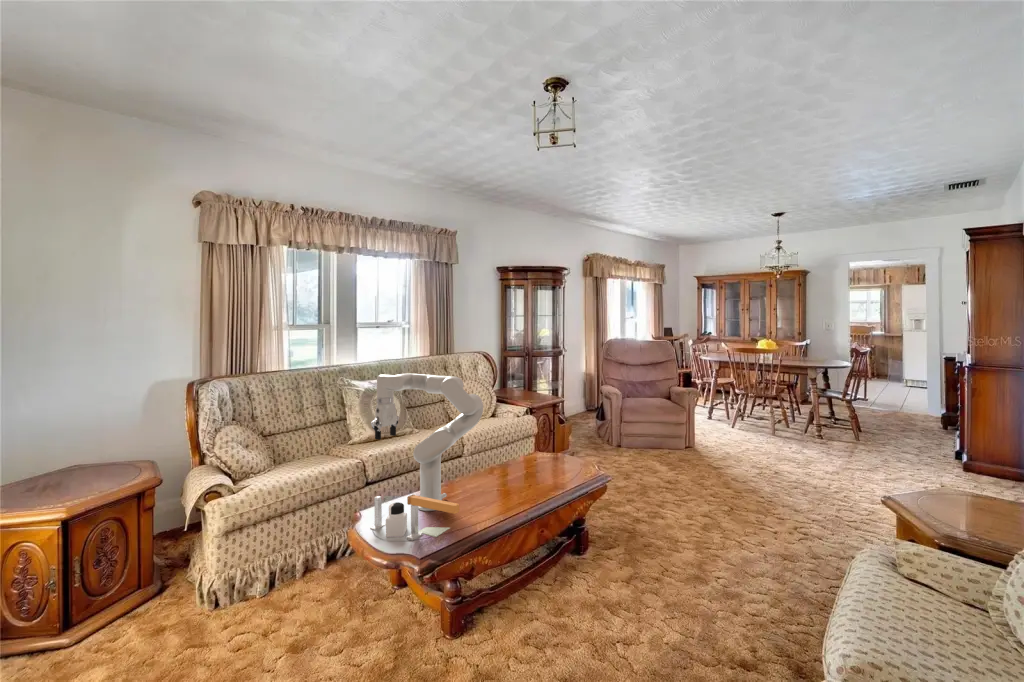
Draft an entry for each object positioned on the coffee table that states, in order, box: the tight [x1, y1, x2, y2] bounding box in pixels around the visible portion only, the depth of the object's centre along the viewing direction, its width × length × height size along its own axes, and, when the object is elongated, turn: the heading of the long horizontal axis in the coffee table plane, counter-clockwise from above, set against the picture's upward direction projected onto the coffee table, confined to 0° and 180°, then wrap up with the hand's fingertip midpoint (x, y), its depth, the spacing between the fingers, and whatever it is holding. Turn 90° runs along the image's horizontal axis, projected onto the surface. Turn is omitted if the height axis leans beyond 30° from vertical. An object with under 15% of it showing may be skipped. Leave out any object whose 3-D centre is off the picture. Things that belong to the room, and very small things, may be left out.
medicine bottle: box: [385, 501, 408, 538], centre depth 189 cm, size 7×7×12 cm
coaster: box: [418, 526, 450, 538], centre depth 191 cm, size 10×10×1 cm
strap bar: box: [406, 494, 460, 515], centre depth 180 cm, size 3×23×3 cm, turn 61°
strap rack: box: [369, 495, 424, 542], centre depth 190 cm, size 6×23×13 cm, turn 61°
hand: (385, 437), depth 218 cm, fingers open, 9 cm apart
